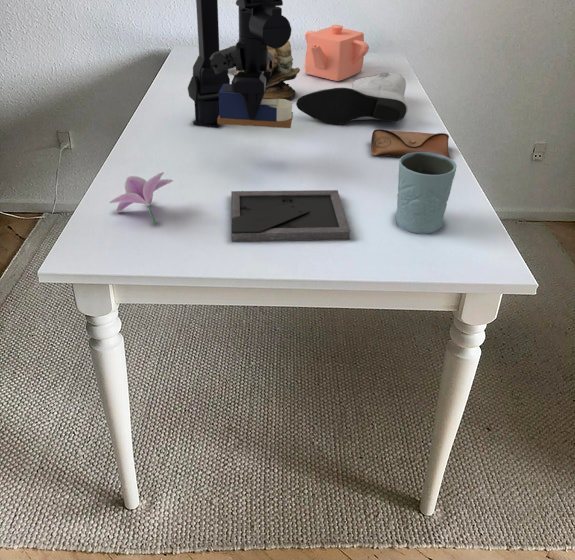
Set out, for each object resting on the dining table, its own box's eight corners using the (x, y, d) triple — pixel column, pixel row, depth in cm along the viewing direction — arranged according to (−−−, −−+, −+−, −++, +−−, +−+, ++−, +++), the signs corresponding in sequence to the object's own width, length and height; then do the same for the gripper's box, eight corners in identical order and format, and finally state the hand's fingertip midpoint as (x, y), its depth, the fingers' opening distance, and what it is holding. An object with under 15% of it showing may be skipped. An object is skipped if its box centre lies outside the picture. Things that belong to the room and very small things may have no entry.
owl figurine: (298, 89, 177) (300, 26, 167) (299, 103, 167) (302, 37, 157) (234, 87, 176) (233, 24, 166) (233, 102, 166) (231, 36, 156)
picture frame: (231, 241, 109) (349, 239, 111) (231, 231, 108) (350, 229, 109) (231, 198, 122) (337, 197, 124) (231, 189, 121) (337, 188, 122)
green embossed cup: (409, 239, 111) (419, 179, 104) (380, 213, 119) (388, 155, 112) (456, 229, 115) (468, 169, 108) (425, 204, 122) (435, 147, 115)
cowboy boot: (410, 100, 148) (414, 71, 168) (298, 80, 150) (314, 53, 170) (401, 138, 153) (406, 104, 173) (293, 118, 156) (310, 87, 176)
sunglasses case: (372, 155, 139) (374, 125, 139) (369, 159, 146) (371, 130, 146) (453, 160, 138) (455, 129, 138) (446, 163, 145) (448, 134, 145)
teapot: (317, 61, 199) (319, 15, 191) (377, 75, 189) (382, 27, 181) (280, 75, 186) (281, 27, 178) (343, 91, 176) (347, 40, 168)
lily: (185, 208, 120) (165, 161, 118) (183, 215, 109) (161, 163, 106) (127, 231, 120) (106, 185, 117) (119, 241, 108) (96, 189, 106)
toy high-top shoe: (217, 124, 127) (216, 92, 123) (222, 113, 132) (221, 82, 128) (290, 128, 126) (291, 96, 122) (292, 117, 131) (293, 86, 127)
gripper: (220, 21, 127) (223, 96, 136) (202, 45, 112) (206, 128, 121) (274, 24, 127) (273, 99, 136) (264, 49, 112) (263, 131, 121)
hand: (253, 113), depth 128 cm, fingers closed on toy high-top shoe, 5 cm apart
